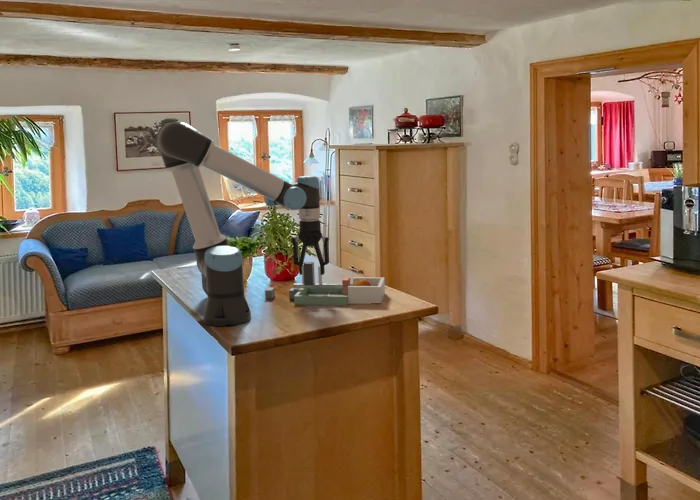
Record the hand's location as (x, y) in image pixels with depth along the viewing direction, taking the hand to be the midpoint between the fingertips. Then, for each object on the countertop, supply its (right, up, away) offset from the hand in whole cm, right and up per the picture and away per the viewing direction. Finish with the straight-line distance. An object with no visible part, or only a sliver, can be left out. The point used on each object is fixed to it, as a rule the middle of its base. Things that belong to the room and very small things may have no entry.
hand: (312, 283), depth 231 cm
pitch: (-1, -5, +1) cm, 6 cm away
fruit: (+17, -6, -2) cm, 18 cm away
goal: (+19, -5, -2) cm, 20 cm away
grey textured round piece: (-34, -6, +6) cm, 35 cm away
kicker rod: (+3, -5, 0) cm, 6 cm away
